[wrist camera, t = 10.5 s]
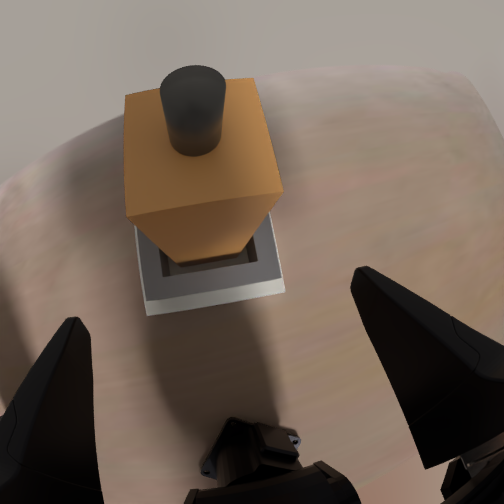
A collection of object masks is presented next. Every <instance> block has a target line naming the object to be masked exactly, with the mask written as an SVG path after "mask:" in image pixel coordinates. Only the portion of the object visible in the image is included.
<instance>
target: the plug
mask: <svg viewBox="0 0 504 504" xmlns="http://www.w3.org/2000/svg"><path fill="white" fill-rule="evenodd" d="M124 187H125V205H126V217H127V218H128V219H129V220H130V221H131V222H132V223H133V224H134V225H135V226H136V227H137V228H138V229H139V230H140V231H141V232H143V233H144V234H145V235H146V236H147V237H148V238H149V239H150V240H151V241H152V242H153V243H154V244H155V245H156V246H158V247H159V248H160V249H161V250H162V251H163V252H164V253H165V254H166V255H167V256H168V257H170V258H171V259H172V260H173V261H174V262H175V263H176V264H177V265H178V266H180V267H187V266H193V265H198V264H204V263H210V262H215V261H221V260H227V259H232V258H237V257H238V255H239V254H240V253H241V251H242V250H243V248H244V247H245V245H246V244H247V243H248V241H249V240H250V238H251V237H252V236H253V234H254V233H255V231H256V230H257V228H258V227H259V226H260V224H261V223H262V221H263V220H264V219H265V217H266V216H267V214H268V213H269V212H270V210H271V209H272V207H273V206H274V205H275V203H276V202H277V200H278V199H279V198H280V196H281V195H282V193H283V192H284V191H283V187H282V183H281V178H280V174H279V170H278V166H277V162H276V158H275V155H274V151H273V147H272V143H271V139H270V135H269V132H268V128H267V124H266V121H265V117H264V113H263V110H262V106H261V103H260V99H259V96H258V92H257V89H256V85H255V82H254V79H253V78H243V79H228V80H225V79H224V77H223V76H222V75H221V74H220V73H219V72H218V71H216V70H214V69H212V68H210V67H206V66H200V65H194V66H186V67H182V68H180V69H177V70H175V71H173V72H171V73H170V74H169V75H168V76H167V77H166V78H165V79H164V80H163V82H162V83H161V86H160V88H158V89H153V90H147V91H143V92H138V93H133V94H129V95H126V96H125V112H124Z"/></svg>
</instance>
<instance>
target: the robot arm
mask: <svg viewBox="0 0 504 504" xmlns="http://www.w3.org/2000/svg"><path fill="white" fill-rule="evenodd" d="M350 289H351V293H352V296H353V298H354V301H355V304H356V306H357V309H358V312H359V314H360V317H361V320H362V322H363V325H364V327H365V330H366V332H367V334H368V336H369V338H370V340H371V342H372V344H373V347H374V349H375V351H376V353H377V355H378V357H379V359H380V361H381V363H382V366H383V368H384V370H385V372H386V374H387V377H388V379H389V381H390V383H391V386H392V388H393V390H394V392H395V395H396V397H397V399H398V402H399V404H400V406H401V409H402V411H403V414H404V416H405V418H406V421H407V423H408V425H409V429H410V431H411V434H412V436H413V439H414V442H415V444H416V447H417V449H418V452H419V455H420V458H421V460H422V463H423V466H424V468H425V469H429V468H431V467H434V466H437V465H439V464H442V463H444V462H446V461H449V460H450V459H453V458H455V457H456V458H455V459H454V460H453V461H451V462H450V463H449V465H448V469H447V472H446V475H445V478H444V481H443V484H442V487H441V489H440V490H441V492H442V495H443V497H444V500H445V501H444V502H442V503H441V504H504V346H503V345H501V344H500V343H498V342H496V341H494V340H492V339H490V338H489V337H487V336H485V335H483V334H481V333H479V332H478V331H476V330H474V329H472V328H470V327H469V326H467V325H466V324H464V323H462V322H461V321H459V320H457V319H456V318H454V317H453V316H450V315H449V314H448V313H446V312H445V311H443V310H441V309H440V308H438V307H437V306H435V305H433V304H432V303H430V302H428V301H427V300H425V299H423V298H422V297H420V296H418V295H417V294H415V293H413V292H412V291H410V290H408V289H407V288H405V287H403V286H402V285H400V284H398V283H397V282H395V281H393V280H391V279H390V278H388V277H386V276H384V275H383V274H381V273H379V272H377V271H376V270H374V269H372V268H370V267H369V266H363V267H358V268H356V269H355V271H354V275H353V278H352V282H351V286H350ZM231 422H235V423H236V424H235V425H230V423H231ZM294 440H297V441H296V442H293V441H294ZM300 443H301V439H300V438H299V436H297V435H292V434H288V433H286V432H285V430H283V429H279V428H275V427H272V426H268V425H265V424H262V423H258V422H257V423H254V424H253V423H249V422H246V421H243V420H240V419H237V418H233V417H232V418H229V419H227V421H226V422H225V424H224V426H223V428H222V430H221V432H220V434H219V436H218V438H217V440H216V442H215V443H214V445H213V447H212V449H211V451H210V453H209V455H208V456H207V458H206V460H205V462H204V464H203V466H202V467H201V474H202V475H203V476H206V477H209V478H212V479H216V480H217V488H211V489H203V490H199V489H190V491H189V493H188V495H187V497H186V499H185V502H184V504H361V501H360V499H359V496H358V494H357V492H356V490H355V488H354V487H353V485H352V484H351V482H350V481H349V480H348V479H347V477H345V476H344V475H343V474H341V473H340V472H338V471H336V470H335V469H333V468H332V467H330V466H329V465H327V464H326V463H324V462H323V461H318V462H315V463H313V465H310V466H307V467H304V468H303V467H302V465H301V464H300V462H299V460H298V457H299V453H298V451H297V448H298V447H299V445H300ZM205 470H208V471H209V472H205ZM0 504H104V500H103V494H102V491H101V484H100V477H99V470H98V462H97V453H96V443H95V429H94V405H93V369H92V354H91V337H90V333H89V331H88V330H87V328H86V327H85V325H84V324H83V322H82V321H81V319H80V318H79V317H68V318H67V319H66V320H65V321H64V322H63V323H62V325H61V326H60V328H59V329H58V330H57V332H56V333H55V334H54V336H53V337H52V339H51V340H50V341H49V343H48V344H47V346H46V347H45V349H44V350H43V351H42V353H41V354H40V356H39V357H38V359H37V360H36V362H35V363H34V365H33V366H32V368H31V370H30V371H29V373H28V374H27V376H26V377H25V379H24V381H23V382H22V384H21V385H20V387H19V389H18V390H17V392H16V394H15V396H14V397H13V399H12V401H11V402H10V404H9V406H8V408H7V409H6V411H5V413H4V415H3V416H2V418H1V420H0Z"/></svg>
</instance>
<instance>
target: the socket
mask: <svg viewBox="0 0 504 504" xmlns="http://www.w3.org/2000/svg"><path fill="white" fill-rule="evenodd" d="M134 228H135V238H136V247H137V256H138V264H139V271H140V278H141V285H142V292H143V298H144V304H145V309H146V315H147V316H151V315H158V314H165V313H172V312H178V311H184V310H190V309H197V308H203V307H208V306H214V305H220V304H226V303H231V302H237V301H242V300H247V299H253V298H258V297H263V296H268V295H273V294H278V293H283V292H285V286H284V281H283V276H282V271H281V265H280V260H279V255H278V250H277V245H276V240H275V235H274V230H273V225H272V220H271V216H270V212H269V213H268V214H267V216H266V217H265V219H264V220H263V221H262V223H261V224H260V226H259V227H258V228H257V230H256V231H255V233H254V234H253V236H252V237H251V238H250V240H249V241H248V243H247V244H246V245H245V247H244V248H243V250H242V251H241V253H240V254H239V255H238V257H237V258H232V259H227V260H221V261H215V262H210V263H204V264H198V265H193V266H187V267H180V266H178V265H177V264H176V263H175V262H174V261H173V260H172V259H171V258H170V257H168V256H167V255H166V254H165V253H164V252H163V251H162V250H161V249H160V248H159V247H158V246H156V245H155V244H154V243H153V242H152V241H151V240H150V239H149V238H148V237H147V236H146V235H145V234H144V233H143V232H141V231H140V230H139V229H138V228H137V227H136V226H135V225H134Z"/></svg>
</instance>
